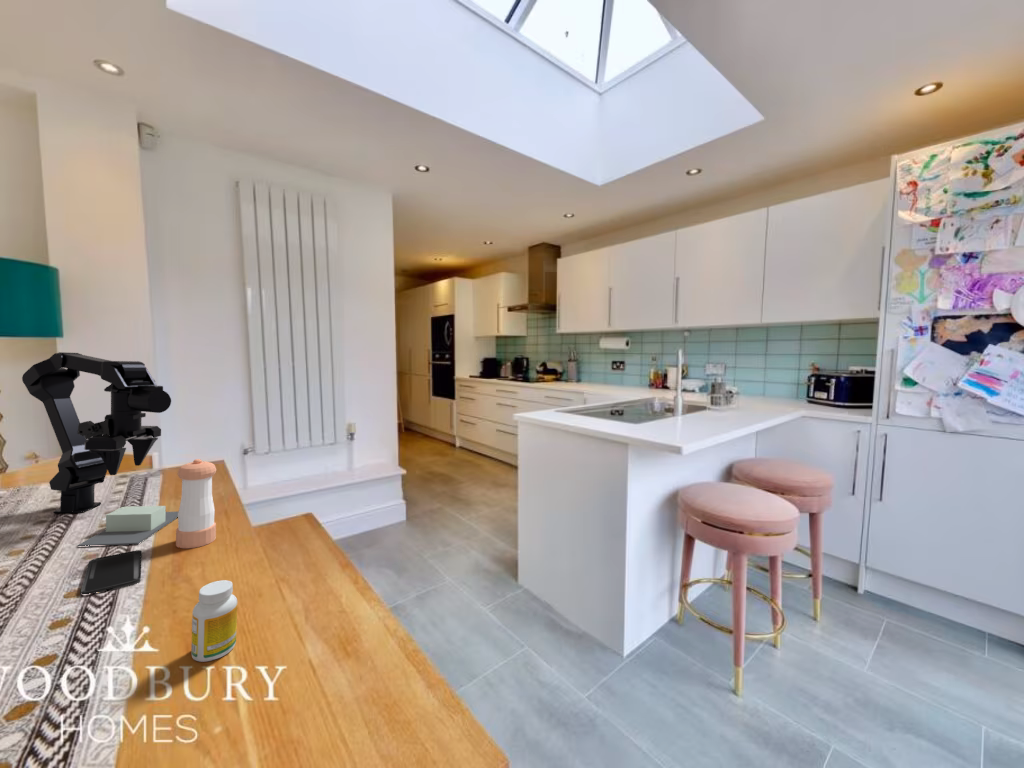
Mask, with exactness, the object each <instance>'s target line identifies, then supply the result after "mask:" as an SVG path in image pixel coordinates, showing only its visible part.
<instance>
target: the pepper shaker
mask: <svg viewBox="0 0 1024 768" xmlns="http://www.w3.org/2000/svg"><path fill="white" fill-rule="evenodd" d="M216 472H217V468H216V465H215V463H212V462H209V461H206V460H205V461H203V460H202V459H200V458H196V459H194V460H193V461H192V462H188V463H185V464H183V465H181V466H180V467H179V468H178V470H177V477H178V478H179V479H180V480H181V499H180V503H179V504H180V505H179V508H178V511H179V512H178V511H177V512H178V518H177V522H178V525H177V526H178V527H177V528H176V529H175V546H176V547H177V548H179V547H180V548H179V549H195V548H199V547H203V546H207V545H209V544H211V543H213V542H214V541H215V540H216V537H217V523H216V521H215V512H216V511H215V504H214V503H215V502H214V500H213V499H214V498H213V477H214V476H215V474H216Z"/></svg>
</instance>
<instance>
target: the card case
mask: <svg viewBox="0 0 1024 768" xmlns="http://www.w3.org/2000/svg"><path fill="white" fill-rule="evenodd" d="M166 512H167V511H166V505H144V506H143V505H142V506H139V505H136V506H134V505H133V506H122V507H120V508H117V509H116V510H113V511H111V512H109V513H108V514H106V515H105V530H106V532H118V531H151V530H153V529H154V528H156V527H157V526H159V525H161V524H162V523H164V522H165V515H166Z"/></svg>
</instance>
